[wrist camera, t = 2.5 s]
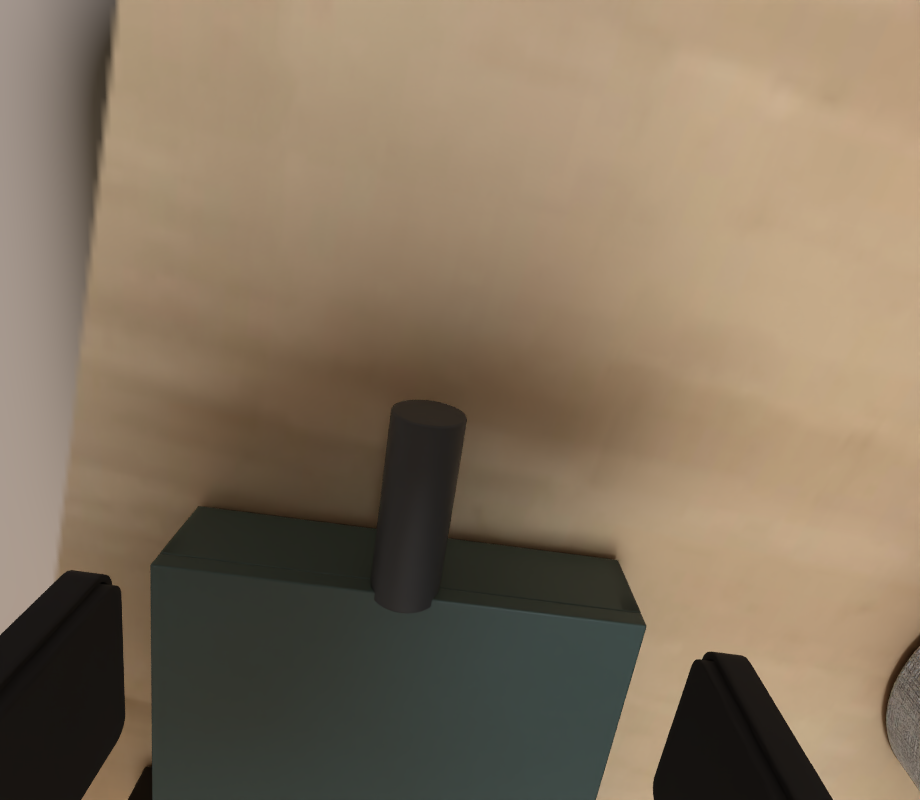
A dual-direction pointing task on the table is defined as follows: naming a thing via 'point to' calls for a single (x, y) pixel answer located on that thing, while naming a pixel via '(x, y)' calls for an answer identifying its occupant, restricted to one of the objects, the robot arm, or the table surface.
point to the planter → (906, 717)
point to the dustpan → (384, 650)
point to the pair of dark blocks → (143, 786)
